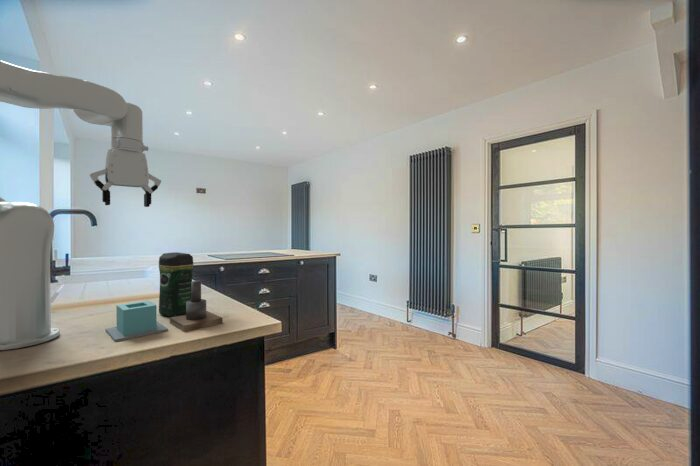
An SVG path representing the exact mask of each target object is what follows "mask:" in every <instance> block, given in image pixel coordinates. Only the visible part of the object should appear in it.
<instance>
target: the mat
mask: <svg viewBox="0 0 700 466" xmlns="http://www.w3.org/2000/svg"><path fill="white" fill-rule="evenodd" d="M104 329H105V332H106V333H107V335H108V336H109V337H110V338H111V339H112V340H113V341H114V342H115V343H116V342H122V341H125V340H131V339H135V338H140V337H144V336H149V335H153V334H154V335H155V334H159V333H163V332H167V331H169V329H168V327H166V326H164V325H163V324H162V323H160V322H159V321H157V329H153V330H148V331H143V332H138V333H133V334H128V335H122V334H121V333H120V332H119V331H118V330H117V326H113V327H107V328H104Z"/></svg>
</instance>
